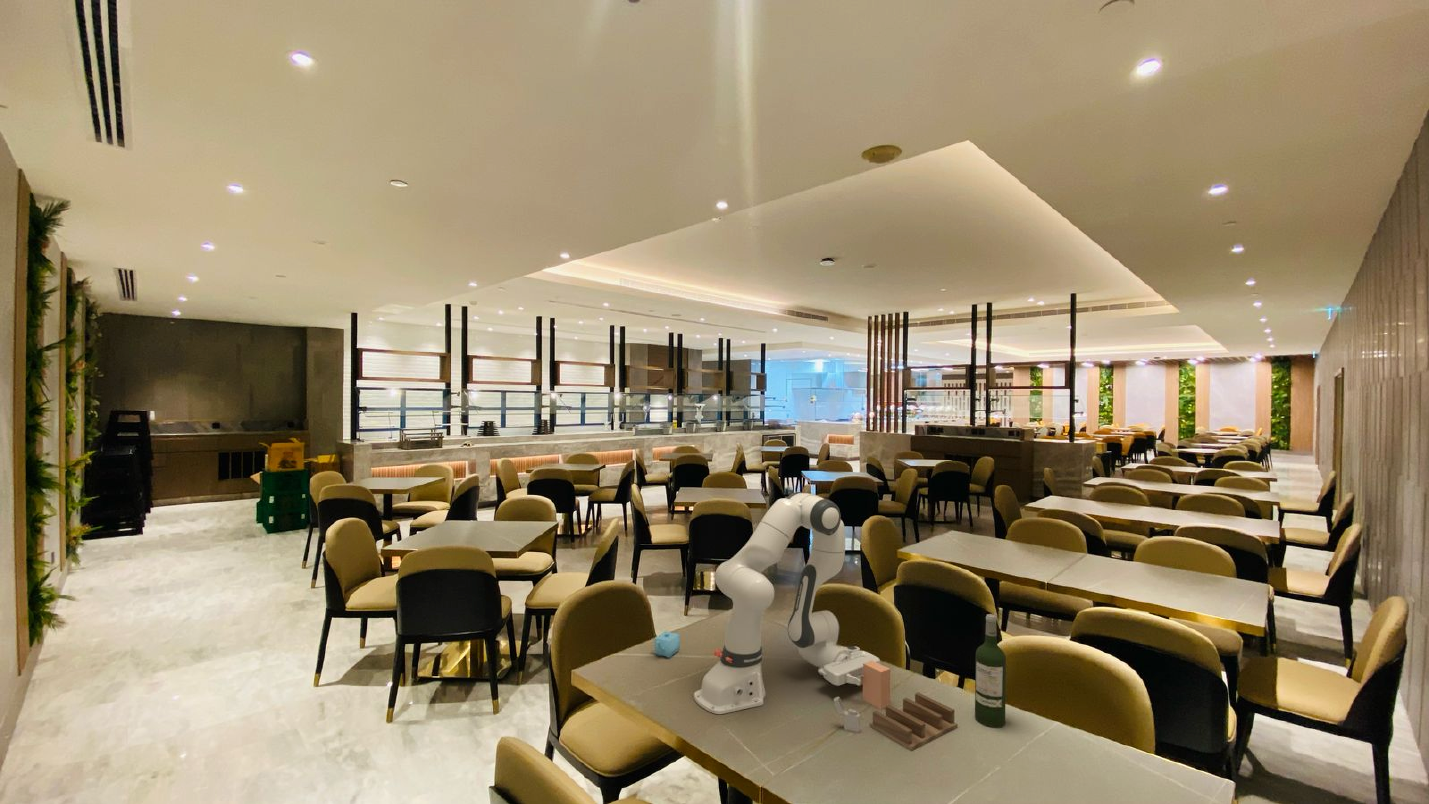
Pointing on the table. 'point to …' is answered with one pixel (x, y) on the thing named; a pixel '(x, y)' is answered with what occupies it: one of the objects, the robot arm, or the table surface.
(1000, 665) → the wine bottle
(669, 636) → the light blue toy brick
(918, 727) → the rack
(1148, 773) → the table surface
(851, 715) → the lighter
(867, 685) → the salmon rectangular prism
